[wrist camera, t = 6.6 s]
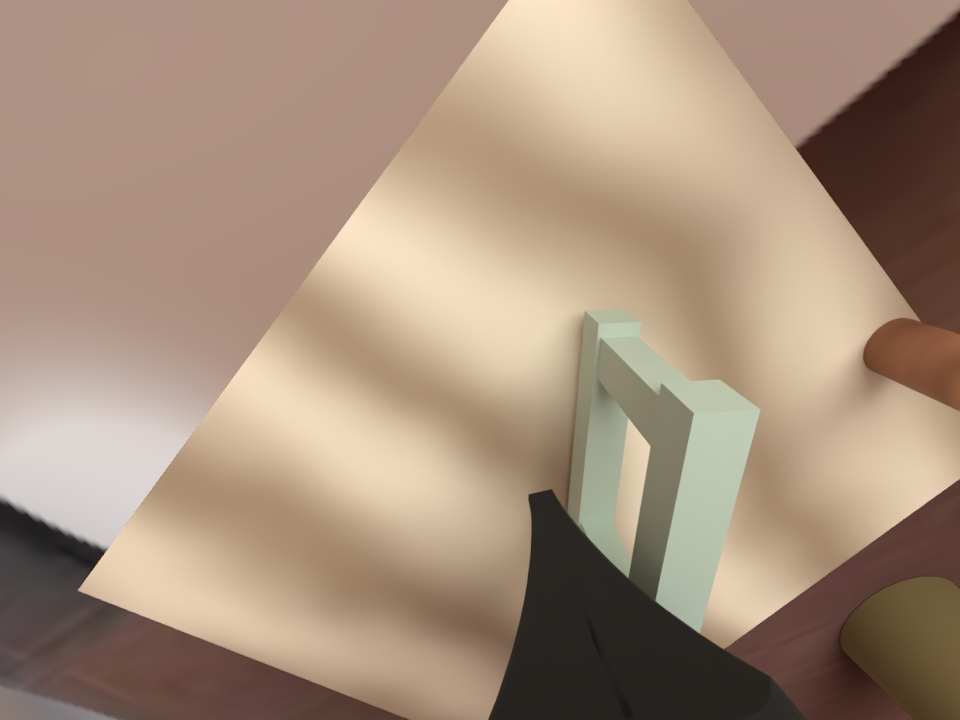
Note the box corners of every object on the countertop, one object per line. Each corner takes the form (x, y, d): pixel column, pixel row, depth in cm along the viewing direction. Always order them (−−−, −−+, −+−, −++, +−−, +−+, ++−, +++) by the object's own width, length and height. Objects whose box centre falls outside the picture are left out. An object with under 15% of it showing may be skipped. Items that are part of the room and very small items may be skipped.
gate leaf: (583, 647, 19) (643, 841, 14) (555, 650, 19) (605, 846, 14) (624, 309, 13) (760, 409, 8) (584, 310, 13) (694, 414, 8)
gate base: (548, 765, 24) (595, 1007, 17) (85, 581, 16) (-171, 886, 9) (997, 437, 18) (1355, 609, 11) (593, -113, 10) (945, -732, 3)
